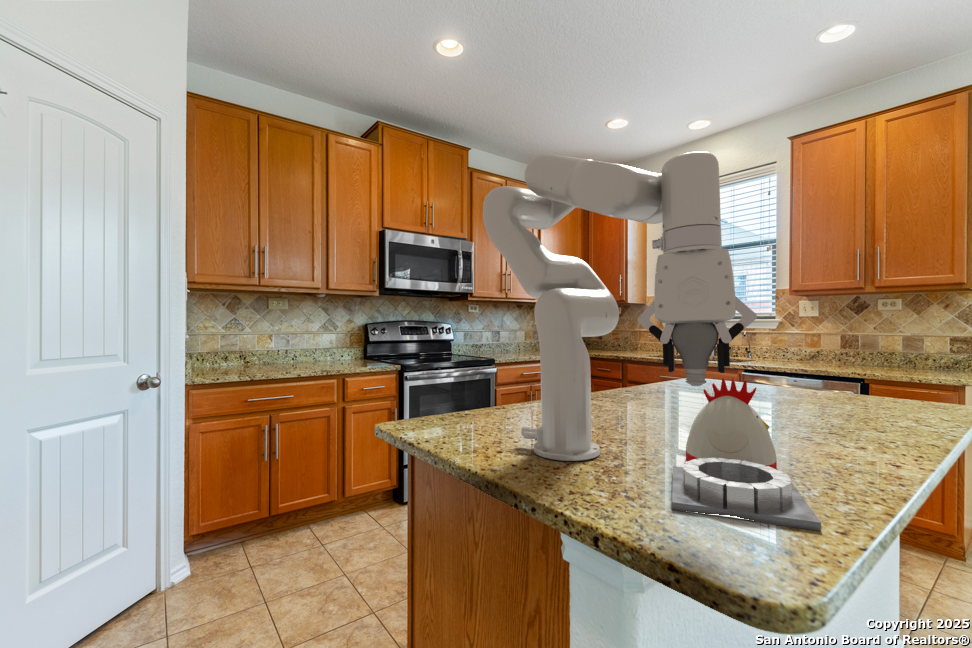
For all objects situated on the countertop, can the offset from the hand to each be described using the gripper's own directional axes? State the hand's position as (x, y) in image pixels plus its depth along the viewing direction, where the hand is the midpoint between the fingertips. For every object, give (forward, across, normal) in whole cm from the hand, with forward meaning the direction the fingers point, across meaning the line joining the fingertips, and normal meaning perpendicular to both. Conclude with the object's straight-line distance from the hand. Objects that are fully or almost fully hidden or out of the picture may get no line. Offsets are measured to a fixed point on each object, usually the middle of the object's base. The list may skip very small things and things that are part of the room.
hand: (695, 370), depth 62 cm
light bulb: (+2, 0, 0) cm, 2 cm away
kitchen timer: (+18, +5, +20) cm, 27 cm away
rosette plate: (+18, +4, +2) cm, 19 cm away
